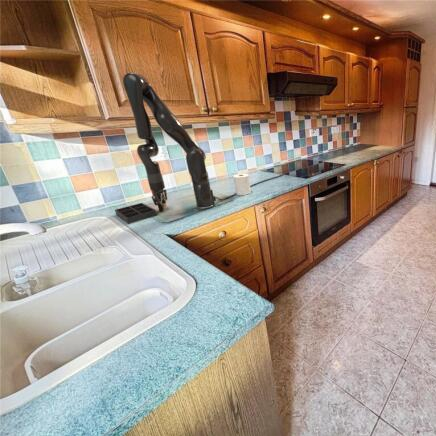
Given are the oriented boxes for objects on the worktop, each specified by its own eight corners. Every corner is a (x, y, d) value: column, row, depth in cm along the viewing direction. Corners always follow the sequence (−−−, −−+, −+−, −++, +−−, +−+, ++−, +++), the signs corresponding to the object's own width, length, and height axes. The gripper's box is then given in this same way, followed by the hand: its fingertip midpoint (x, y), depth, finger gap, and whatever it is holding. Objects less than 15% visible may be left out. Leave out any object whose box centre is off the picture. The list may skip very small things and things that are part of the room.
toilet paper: (251, 190, 179) (249, 173, 174) (250, 194, 169) (248, 176, 164) (236, 191, 178) (234, 174, 174) (234, 195, 169) (232, 177, 164)
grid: (143, 207, 157) (141, 202, 155) (157, 215, 143) (155, 210, 142) (116, 214, 147) (114, 209, 146) (128, 223, 133) (126, 218, 132)
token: (165, 208, 153) (164, 202, 152) (168, 209, 150) (167, 204, 149) (158, 210, 150) (156, 204, 149) (161, 211, 147) (159, 206, 146)
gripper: (156, 183, 137) (164, 213, 144) (167, 177, 150) (174, 205, 157) (142, 184, 137) (151, 214, 144) (154, 178, 150) (162, 205, 157)
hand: (163, 209), depth 150 cm, fingers closed on token, 4 cm apart
